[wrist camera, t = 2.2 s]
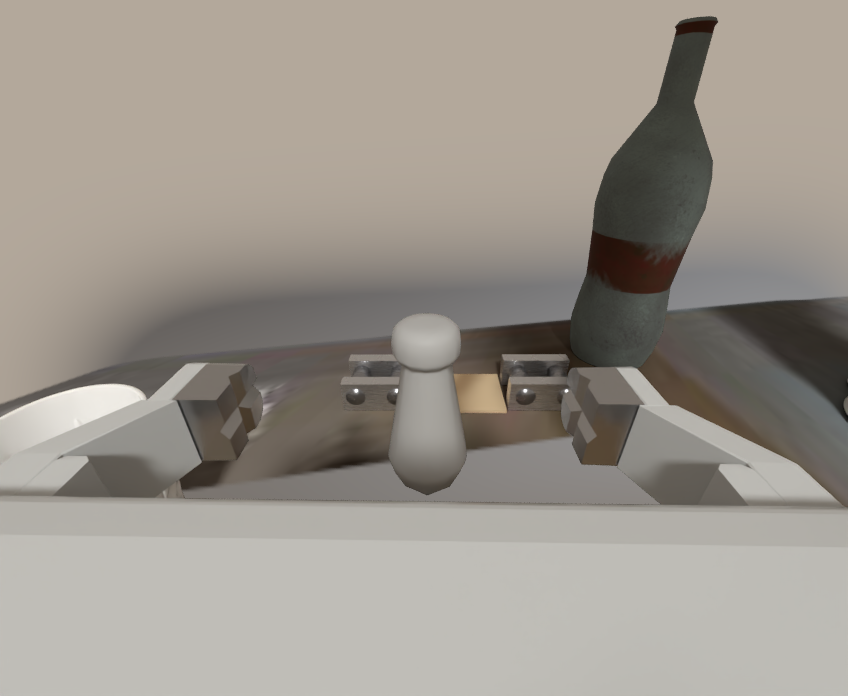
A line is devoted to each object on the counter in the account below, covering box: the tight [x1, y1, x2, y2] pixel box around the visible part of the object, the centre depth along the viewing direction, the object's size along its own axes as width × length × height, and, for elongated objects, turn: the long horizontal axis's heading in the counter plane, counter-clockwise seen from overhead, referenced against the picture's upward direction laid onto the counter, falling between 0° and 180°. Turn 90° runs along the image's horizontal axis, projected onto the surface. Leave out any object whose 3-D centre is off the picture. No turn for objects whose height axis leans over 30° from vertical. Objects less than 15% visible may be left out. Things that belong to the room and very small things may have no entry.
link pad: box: [454, 374, 507, 413], centre depth 38 cm, size 9×6×1 cm
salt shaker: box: [388, 313, 467, 495], centre depth 26 cm, size 6×6×13 cm
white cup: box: [0, 384, 185, 498], centre depth 22 cm, size 8×8×10 cm
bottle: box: [570, 16, 718, 368], centre depth 37 cm, size 9×9×30 cm
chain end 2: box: [499, 354, 570, 410], centre depth 37 cm, size 6×5×3 cm
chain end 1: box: [340, 355, 402, 410], centre depth 37 cm, size 6×5×3 cm
